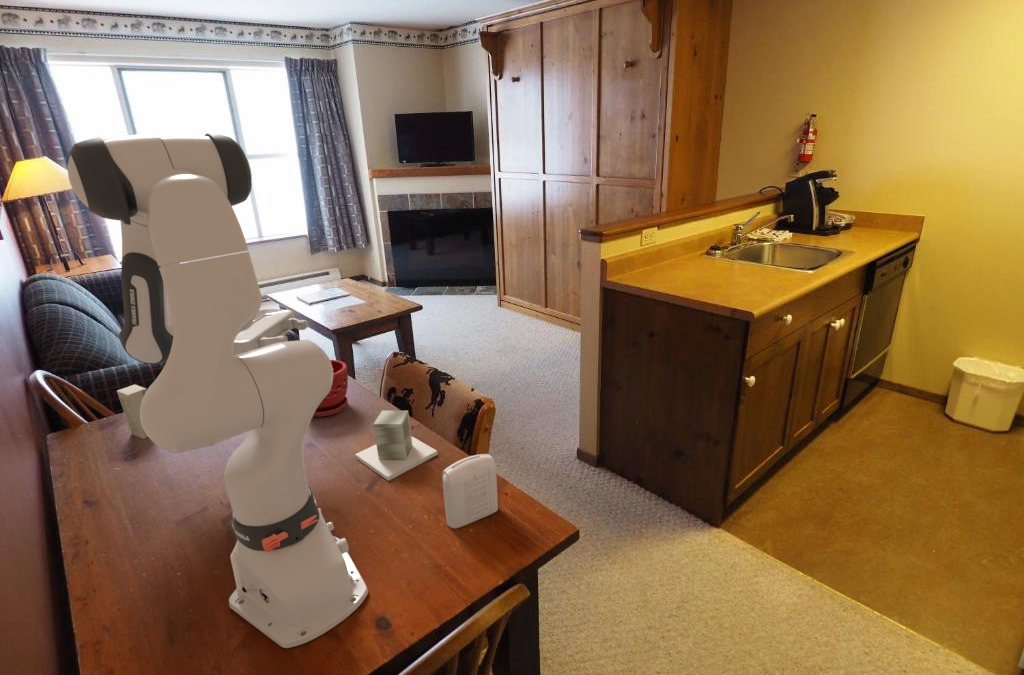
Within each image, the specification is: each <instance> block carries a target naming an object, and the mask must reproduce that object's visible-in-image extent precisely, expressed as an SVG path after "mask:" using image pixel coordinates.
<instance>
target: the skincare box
mask: <svg viewBox="0 0 1024 675" xmlns="http://www.w3.org/2000/svg"><path fill="white" fill-rule="evenodd" d="M147 389H148V388H146V387H143V386H140V385H138V384H132V385H129V386H127V387H123V388H120V389H118V390H116V392H117V396H118V400H119V401H120V405H121V407H122V410H123V413H124V416H125V418H126V422H127V423H128V427H129V430H130V433H131V435H133V436H135V437H137V438H140V439H142V440H144V439H147V438H149V437H148V436H147V435H146V433H145V431H144V429H143V427H142V424H141V420H140V407H141V402H142V399H143V397H144V395H145V393H146V391H147Z"/></svg>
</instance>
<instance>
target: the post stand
mask: <svg viewBox="0 0 1024 675" xmlns="http://www.w3.org/2000/svg"><path fill="white" fill-rule="evenodd" d="M411 437H412V445H413V446H412V448H411V450H410V452H409V454H408V456H407V459H406V460H379V457H378V451H377V444H376V443H375V444H374V445H372V446H370V447H368V448H365V449H363V450H361V451H359V452H357V453H355V454H354V455H355V458H356V460H358V461H359V462H360V463H362V464H364V465H365V466H367V467H368V468H369V469H371V470H372V471H373V472H375V473H376V474H377V475H379V476H380V477H382V478H384V479H385V481H388V482H389V481H391V480H393V479H395V478H397V477H399V476H400V475H402V474H405V473H406V472H407V471H410V470H412V469H413V468H415V467H418V466H419V465H420V464H423V463H425V462H426V461H428V460H430V459H432V458H433V457H436V456H437V455H438V450H436V449H435V448H433V447H431V446H430V445H428V444H426V443H425V442H422V441H421V440H420V439H418V438H416V437H414V436H412V435H411Z"/></svg>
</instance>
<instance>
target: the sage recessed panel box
mask: <svg viewBox="0 0 1024 675" xmlns="http://www.w3.org/2000/svg"><path fill="white" fill-rule="evenodd" d="M373 429H374V436H375V442H376V443H375V445H376V444H377V451H378V457H379V460H406V459H407V456H408V454H409V452H410V450H411V448H412V446H413V445H412V437H413V436H412V430H411V422H410V414H409V410H381V412H380V413H379V414H378V416H377V418H376V419H375V421H374V422H373ZM411 436H412V437H411Z"/></svg>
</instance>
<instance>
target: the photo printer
mask: <svg viewBox="0 0 1024 675" xmlns="http://www.w3.org/2000/svg"><path fill="white" fill-rule="evenodd" d="M496 465H497V464H496V462H495V459H494V458H493V456H491V454H489V453H483V454H482V453H479V454H475V455H470V456H467V457H465V458H462V459H460V460H457V461H455V462H454V463H452V464H450V465H449V466H447V467H445V469H444V470H443V471H442V476H441V479H442V488H443V498H444V499H443V500H444V510H445V517H446V524H447V526H448V527H450V528H451V529H458V528H462V527H465V526H468V525H469V524H472V523H474V522H477V521H478V520H480V519H483V518H485V517H488V516H491V515H493V514H495V513H496V512H497V511H498V510H499V501H498V500H499V499H498V484H497V467H496Z"/></svg>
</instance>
